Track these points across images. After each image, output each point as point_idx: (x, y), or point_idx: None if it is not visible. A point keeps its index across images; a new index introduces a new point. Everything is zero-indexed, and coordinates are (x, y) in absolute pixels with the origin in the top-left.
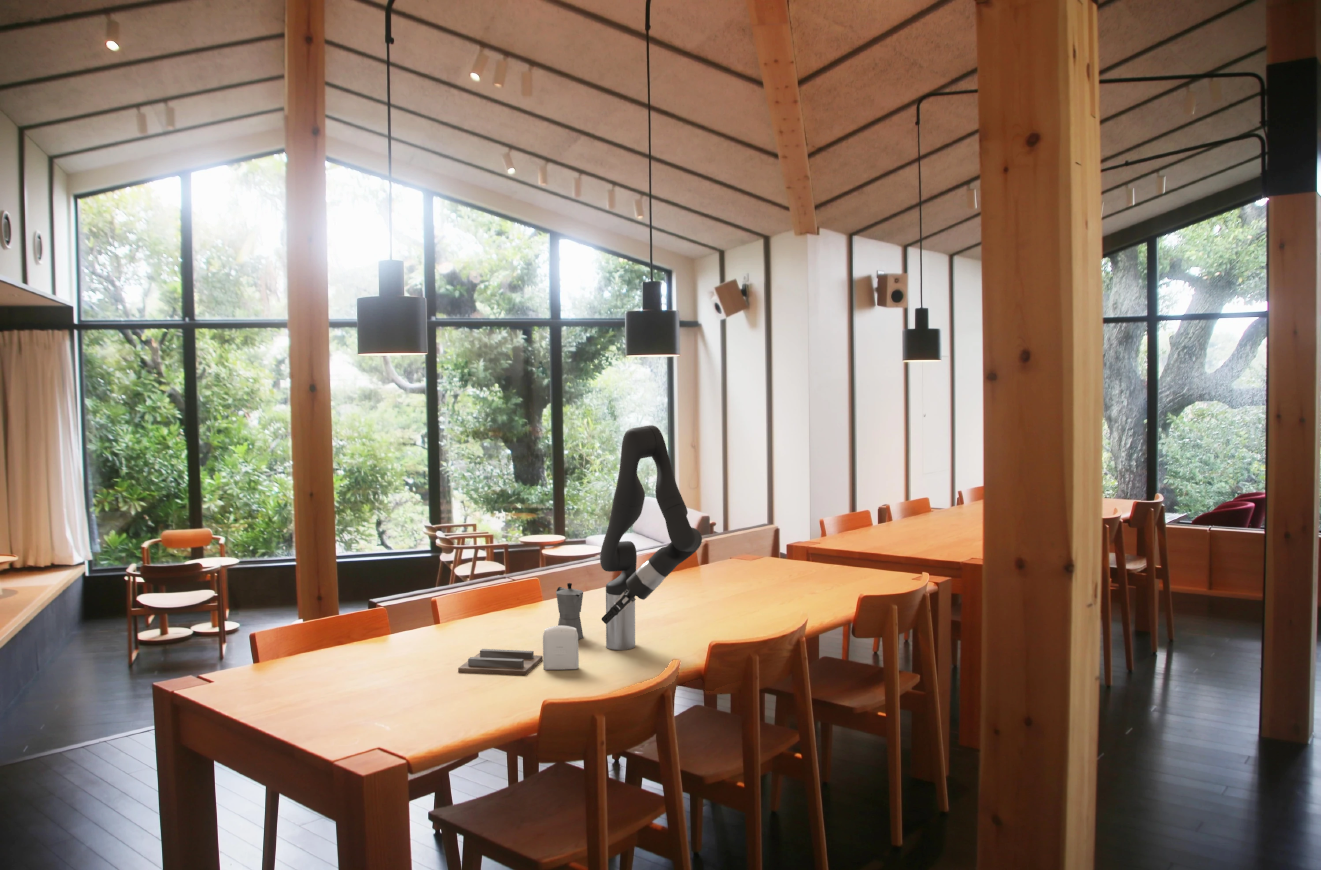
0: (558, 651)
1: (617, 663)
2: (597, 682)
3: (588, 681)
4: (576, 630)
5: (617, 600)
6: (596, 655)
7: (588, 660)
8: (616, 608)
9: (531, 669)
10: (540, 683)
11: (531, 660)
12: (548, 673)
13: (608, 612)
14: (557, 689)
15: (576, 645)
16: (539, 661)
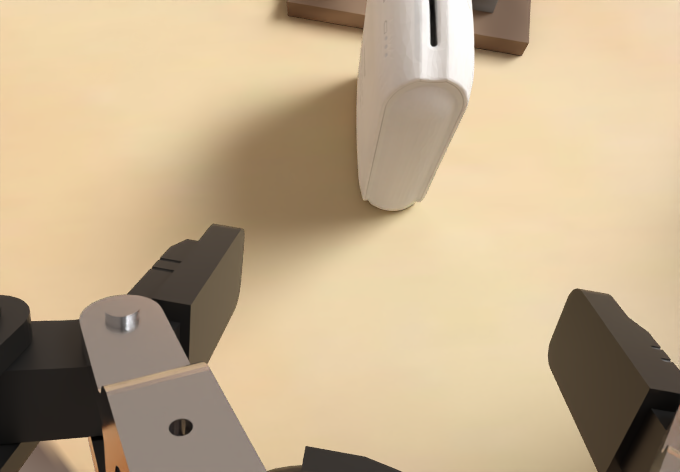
0: (362, 72)
1: (491, 411)
2: None
3: None
4: (452, 90)
5: (120, 437)
6: (631, 284)
7: (532, 250)
8: (603, 392)
9: None
10: (164, 77)
11: None
12: (310, 94)
13: (167, 287)
14: (61, 148)
15: (386, 144)
16: (477, 44)
